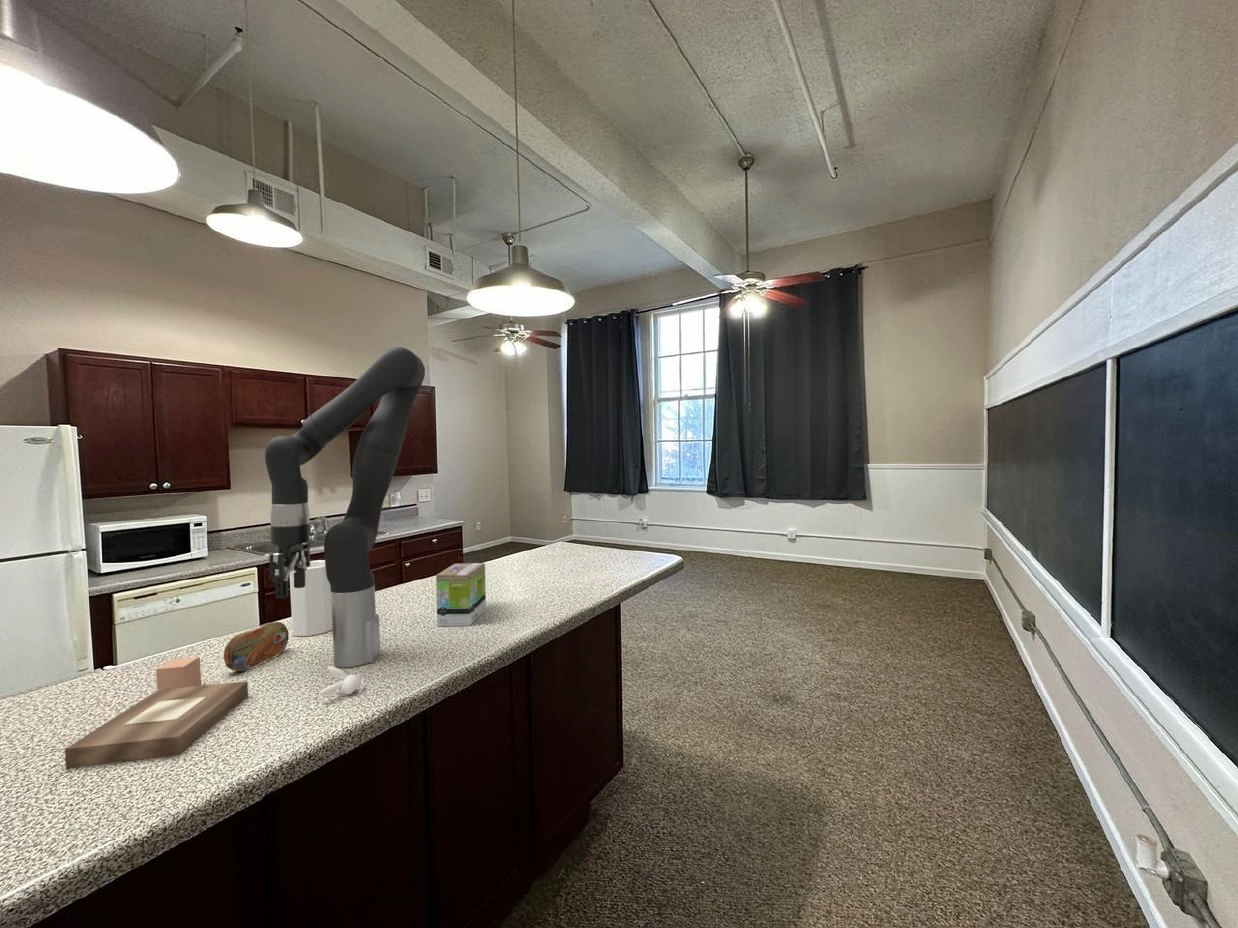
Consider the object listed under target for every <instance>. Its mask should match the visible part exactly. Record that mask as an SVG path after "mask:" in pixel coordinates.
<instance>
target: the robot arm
mask: <svg viewBox="0 0 1238 928" xmlns="http://www.w3.org/2000/svg"><path fill="white" fill-rule="evenodd" d="M425 376H426V369H425V364H424V363H423V361H422V359H421V358H420V357H419V356H418V355H417V354H415V353H414V352H413V351H412V350H410V349H408V348H405V347H400V346H399V347H397V346H396V347H391V348H389V349H387V350H385V351H384V352H382V354H381V355H380V356H379V357H378V358H377V359H376V360H375V361H374V362H373V363H372V364H371V365H370V366H369V367H368V368H367V369H366V370H365V372H363V373H362V374H361V375H360V376H359V377H358V378H357V379H356V380H355V381H354V382H352V384H350V385H349V386H348V387H347V388H346V389H344V390H343V391H342V392H340V393H339V394H338V395H336V396H335V397H334V398H333V399H331V400H330V401H329V402H327V403H325V405H323V406H321V407H320V408H319V409H318V410H316V411H315V412H313V413H312V414H311V415H310V416H308V417H307V418H306V419H305V420H304V422H303V423H302V427H301V428H299V430H298V431H296V432H295V433H293V434H292V435H280V436H278V435H277V436H276V437H274V438H272V439H270V440H269V442H268V443H267V445H266V447H265V451H264V461H265V462H264V463H265V467H266V470H267V474H268V478H269V481H270V483H271V508H270V543H271V545H273V546H277V547H278V548H277V552H273V553H272V552H271V553H270V554H269V563H268V565H269V566H268V568H269V569H268V579H269V581H270V582H274V583H275V598H276V599H285V598H286V599H287V598H288V596H289V581H288V580H289V578H290V572H292V571H293V570H294V571H296V572H294V587H295V588H303V587H305V571H306V570H307V567H310V561H311V552H310V549H311V548H310V547H311V546H310V542H309V541H310V539H311V538H310V537H311V536H310V532H311V530H310V527H311V526H310V524H311V523H310V509H309V507H310V506H309V485H308V481H307V480H306V479H305V478H303V477H302V473H301V472H302V471H301V466H303V465H306V463H308V462H309V461H311V460H312V459H313V458H315V457H316V456H317V455H318V454H319V453H320V452H321V451H322V450H323V449H324V448H325V447H326V446H327V444H328V443H330V442H332V441H333V440H334V439H336V438H337V437H339V435H341V434H342V433H344V432H345V431H346V430H347V429H349V428H350V427H351V426H352V425H354V424H355V423H356V422H357V421H358V420H359V419H360V418H361V417H362V416H363V414H364V413H365V412H366V411H367V410H368V409H369V408H370V407H371V406H372V405H373V404H375V402H377V401H378V400H379V399H380V401H379V403H378V406H377V408H376V410H375V411H374V413H373V414H372V416H371V418H370V419H369V421H368V423H367V424H366V426H365V427H364V430H363V431H362V433H361V436H360V439H359V441H358V444H357V447H356V451H355V454H354V457H353V463H352V470H351V471H352V474H351V475H352V478H351V479H352V480H351V481H352V489H351V490H352V493H351V498H350V501H349V505H348V507H347V510H346V512H345V515H344V518H343V519H342V522H339V523H337V524H334V525H333V526H331V527H330V528H329V529H328V530H327V532H326V534H325V536H324V541H323V552H324V553H323V554H324V560H325V567H326V576H327V579H328V581H329V583H330V590H331V613H332V630H331V631H332V651H333V665H334V667H336V668H353V667H359V666H362V665H366V664H369V663H370V664H371V663H374V662H375V660H376V659H377V658H378V657H379V655H380V654H381V634H380V633H381V632H380V616H379V614H378V613H377V612H376V607H377V606H376V588H375V584H376V583H375V575H374V573H373V572H372V571H371V569H370V563H369V562H370V560H369V552H370V551H371V550H372V549H373V547H374V545H375V543H376V541H377V538H378V531H379V525H380V520H381V514H382V509H383V505H384V501H385V498H386V496H387V493H388V491H389V488H390V485H391V482H392V480H393V476H394V474H395V471H396V468H397V464H398V461H399V458H400V455H401V451H402V446H403V443H404V440H405V435H406V432H407V427H408V423H409V419H410V414H411V410H412V407H413V406H414V403H415V401H416V398H417V396H418V394H419V391H420V389H421V387H422V385H423V382H424V379H425Z"/></svg>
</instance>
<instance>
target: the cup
mask: <svg viewBox="0 0 1238 928" xmlns="http://www.w3.org/2000/svg"><path fill="white" fill-rule="evenodd" d="M294 572H296V571H294V570H293V571H292V572H290V574H289V586H290V587H289V589H290V592H289V593H290V605H291V606H290V609H291V627H292V630H291V631H293V632H292V636H293V637H305V636H308V637H312V635H313V636H317V634H318V635H321V634H322V633H323V634H326V633H329V632H330V631H332V613H331V590H330V583H329V581H328V579H327V576H326V567H325V559H324V560H323V559H319V560H310V567H307V570H306V571H305V587H303V588H295V587H294Z"/></svg>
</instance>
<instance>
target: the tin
mask: <svg viewBox="0 0 1238 928" xmlns="http://www.w3.org/2000/svg"><path fill="white" fill-rule="evenodd" d="M289 637H290V636H289V629H288V627H287V626H286V625H285V623H283V622H280V621H273V622H266V623H264V624H261V625H259V626H256V627H254V628H251V629H249V630H247V631H244V632H242V633H239V634H237V635H235V636H234V637H232V638H231V639H230V640H229V641H228V643H227V644H226V645H225V647H224V651H223V659H224V663H225V666H226V667H227V668H228V669H229V670H232V671H239V672H246V670H248V669H250V668H252V667H254V666H256V665H258V664H260V663H262V662H264V661H266V660H268V659H270V658H272V657H274V656H276V655H278V654H280V655H281V654H282V653H283V652H284V651H285V649H286V647H287V644H288V642H289ZM278 656H279V655H278ZM270 660H271V659H270ZM268 661H269V660H268ZM266 662H267V661H266ZM264 663H265V662H264ZM262 664H263V663H262ZM260 665H261V664H260ZM258 666H259V665H258ZM256 667H257V666H256ZM254 668H255V667H254ZM252 669H253V668H252ZM250 670H251V669H250ZM248 671H249V670H248Z"/></svg>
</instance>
